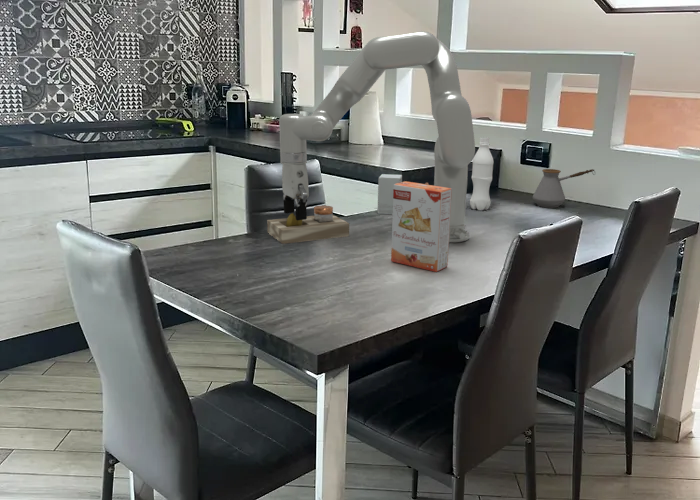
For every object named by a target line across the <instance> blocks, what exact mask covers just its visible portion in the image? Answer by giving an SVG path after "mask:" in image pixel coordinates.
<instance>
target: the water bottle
mask: <svg viewBox="0 0 700 500" xmlns="http://www.w3.org/2000/svg"><path fill="white" fill-rule="evenodd" d="M478 145H479V146H478V147H479V148H478V149H477V151H476V152H475V154H474V158H473V160H472V171H471V180H472V186H473V190H472V195H471V197H470V199H469V204H470V207H471V209H472V210H477V211H484V210H485V211H487V210H488V209H490V207H491V203H492V202H491V201H492V199H491V198H490V186H491V184H492V181H493V170H494V164H495V163H494V158H493V154H492V153H491V150H490V147H489V146H490V138H489V137H487V136H486V137H484V136H483V137H479V143H478Z"/></svg>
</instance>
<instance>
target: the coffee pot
mask: <svg viewBox="0 0 700 500" xmlns="http://www.w3.org/2000/svg"><path fill="white" fill-rule="evenodd" d="M542 172H543V174H542V175H543V176H542V178H541V180H540V182H539V183H538V186H537V187H536V190H535V191H534V193H533V195H532V200H533V201H534V203H535V204H536V205H537V206H539V207H542V208H551V209H552V208H553V209H554V208H558V207H560V205H562V204H563V203H565V201H566V196H565V193H564V190H563V187H562V183H561V181H564V180H567V179H570V178H576V177H579V176H583V175H585V174H589V173H592V175H593V176H595V173H596V171H595V169H593V168H592V169H589V170H588V169H586V170H584V171H579V172H576V173H573V174H571V175H567V176H563V177H560V176H559V175H560V173H561V170H560V169H554V168H544V169H542ZM559 177H560V178H559Z"/></svg>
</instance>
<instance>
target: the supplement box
mask: <svg viewBox="0 0 700 500" xmlns="http://www.w3.org/2000/svg"><path fill="white" fill-rule="evenodd" d="M377 182H378V183H377V184H378V185H377V187H378V188H377V213H376V214H379V215H392V216H393V189H394V184H397V183H401V182H403V175H402V174H385V173H382V174H381V175H380V176H378V181H377Z"/></svg>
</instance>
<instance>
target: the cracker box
mask: <svg viewBox="0 0 700 500" xmlns="http://www.w3.org/2000/svg"><path fill="white" fill-rule="evenodd" d="M433 185H434V184H428V185H426V184H425V183H419V182H413V181H402V182H401V183H397V184H394V189H393V215H392V217H391V218H392V220H391V221H392V224H391V225H392V226H391V228H392V229H391V249H390V250H391V253H390V254H391V255H390V257H391V258H390V261H391V263H392V262H393V263H396V264H401V265H404V266H405V265H406V266H409V267H414V268H417V269H423V270H427V271H431V272H434V273H437V272H440V271H441V270H443V269H446V268H447V267H448V265H449V264H448V262H449V247H450V242H449V232H450V214H451V195H452V189H451V188H446V187H439V186H433Z"/></svg>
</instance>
